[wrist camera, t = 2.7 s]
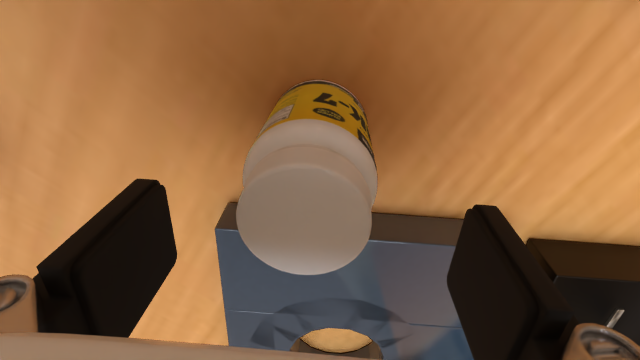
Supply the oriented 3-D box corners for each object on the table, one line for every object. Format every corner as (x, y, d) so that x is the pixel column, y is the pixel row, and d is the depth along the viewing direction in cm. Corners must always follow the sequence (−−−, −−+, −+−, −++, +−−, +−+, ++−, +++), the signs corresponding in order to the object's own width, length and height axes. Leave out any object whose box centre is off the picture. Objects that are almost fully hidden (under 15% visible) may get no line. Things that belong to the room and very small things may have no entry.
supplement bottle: (386, 127, 17) (421, 233, 10) (318, 183, 19) (305, 308, 12) (319, 54, 16) (301, 115, 8) (252, 123, 17) (188, 222, 10)
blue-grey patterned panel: (227, 201, 20) (214, 228, 18) (508, 222, 20) (529, 251, 17) (244, 383, 29) (237, 415, 27) (438, 399, 28) (446, 433, 26)
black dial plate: (527, 237, 20) (556, 278, 17) (670, 248, 20) (724, 290, 17) (471, 363, 26) (486, 408, 23) (581, 372, 26) (610, 418, 23)
